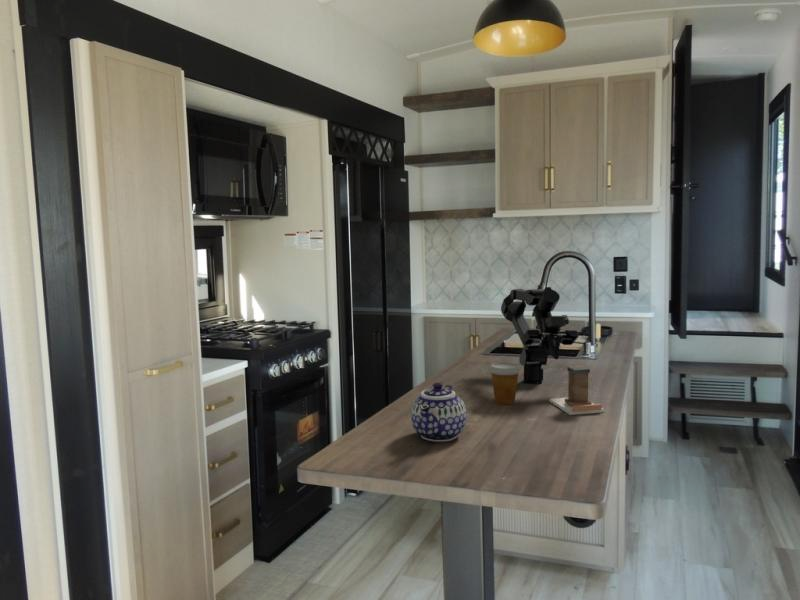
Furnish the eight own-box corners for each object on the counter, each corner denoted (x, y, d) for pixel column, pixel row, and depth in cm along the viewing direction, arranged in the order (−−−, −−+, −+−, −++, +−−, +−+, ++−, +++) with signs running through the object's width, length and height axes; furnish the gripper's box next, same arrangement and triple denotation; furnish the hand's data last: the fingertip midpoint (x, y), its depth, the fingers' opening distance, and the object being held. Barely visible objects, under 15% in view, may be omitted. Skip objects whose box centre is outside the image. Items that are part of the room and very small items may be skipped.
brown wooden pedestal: (564, 402, 209) (565, 366, 208) (582, 400, 210) (583, 365, 209) (573, 407, 203) (573, 370, 202) (591, 405, 204) (592, 369, 203)
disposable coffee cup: (523, 399, 218) (523, 363, 216) (515, 407, 209) (515, 369, 208) (494, 397, 222) (494, 361, 220) (486, 404, 213) (486, 367, 212)
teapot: (430, 420, 197) (430, 371, 195) (479, 426, 190) (479, 375, 189) (394, 446, 174) (393, 390, 172) (448, 453, 168) (448, 396, 166)
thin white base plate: (549, 401, 215) (549, 394, 214) (581, 399, 217) (581, 392, 216) (570, 415, 200) (570, 406, 199) (604, 412, 202) (604, 404, 202)
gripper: (528, 305, 221) (541, 345, 212) (578, 306, 226) (593, 345, 217) (516, 324, 230) (527, 363, 221) (564, 325, 235) (578, 363, 226)
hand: (557, 358), depth 221 cm, fingers closed
